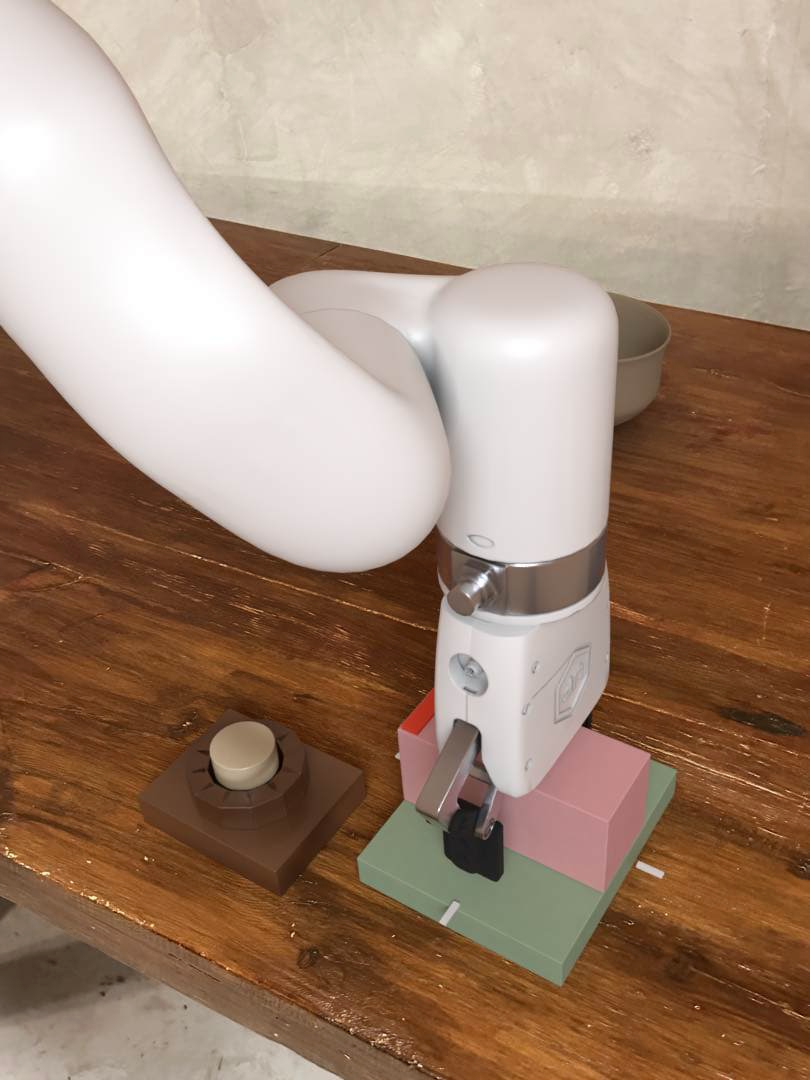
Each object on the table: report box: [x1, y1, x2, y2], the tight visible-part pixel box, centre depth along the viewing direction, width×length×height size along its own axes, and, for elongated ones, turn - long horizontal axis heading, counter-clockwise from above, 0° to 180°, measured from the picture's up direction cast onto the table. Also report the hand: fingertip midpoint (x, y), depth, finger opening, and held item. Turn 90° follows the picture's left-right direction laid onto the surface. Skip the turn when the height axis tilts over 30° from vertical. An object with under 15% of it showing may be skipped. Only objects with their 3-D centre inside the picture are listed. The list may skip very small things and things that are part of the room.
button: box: [210, 721, 279, 791], centre depth 62 cm, size 4×4×2 cm
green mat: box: [356, 752, 678, 988], centre depth 61 cm, size 16×16×2 cm
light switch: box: [136, 708, 367, 898], centre depth 63 cm, size 8×10×4 cm
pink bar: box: [397, 687, 652, 893], centre depth 59 cm, size 12×5×6 cm, turn 57°
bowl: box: [606, 291, 673, 428], centre depth 93 cm, size 13×13×10 cm
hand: (520, 801), depth 60 cm, fingers open, 9 cm apart
